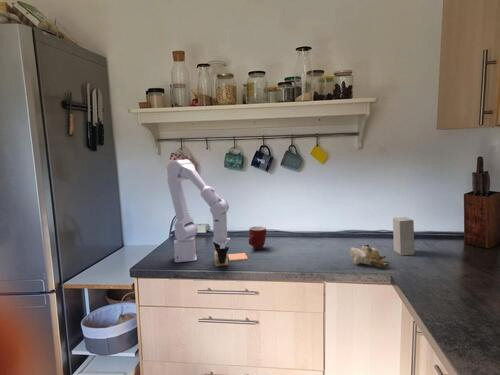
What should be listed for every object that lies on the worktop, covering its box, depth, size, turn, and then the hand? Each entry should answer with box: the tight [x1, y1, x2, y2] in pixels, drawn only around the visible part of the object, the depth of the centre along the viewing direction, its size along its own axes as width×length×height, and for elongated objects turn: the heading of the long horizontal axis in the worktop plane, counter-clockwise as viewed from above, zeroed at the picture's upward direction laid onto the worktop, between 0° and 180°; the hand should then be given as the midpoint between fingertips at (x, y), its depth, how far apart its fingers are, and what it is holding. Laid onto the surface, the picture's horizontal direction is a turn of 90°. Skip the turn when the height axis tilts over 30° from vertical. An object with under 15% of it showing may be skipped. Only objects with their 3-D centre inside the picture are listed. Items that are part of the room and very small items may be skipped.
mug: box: [248, 226, 267, 251], centre depth 171 cm, size 10×8×10 cm
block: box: [214, 250, 229, 267], centre depth 152 cm, size 5×5×5 cm
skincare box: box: [392, 216, 415, 256], centre depth 162 cm, size 8×7×16 cm
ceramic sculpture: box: [349, 244, 390, 268], centre depth 148 cm, size 11×9×15 cm
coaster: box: [227, 252, 249, 262], centre depth 160 cm, size 8×8×1 cm
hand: (221, 260), depth 153 cm, fingers open, 7 cm apart
